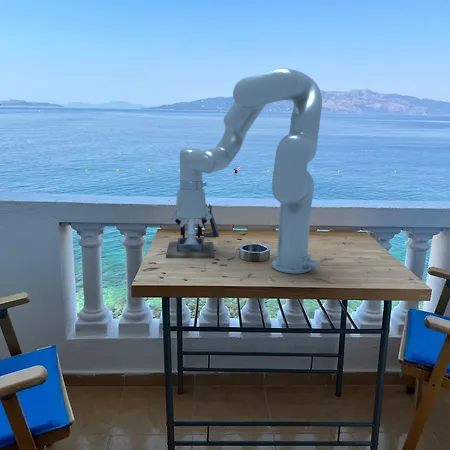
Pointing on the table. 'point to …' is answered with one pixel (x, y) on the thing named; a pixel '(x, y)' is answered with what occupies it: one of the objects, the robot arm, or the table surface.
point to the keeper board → (190, 249)
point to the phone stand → (213, 225)
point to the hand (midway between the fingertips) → (191, 236)
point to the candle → (191, 232)
